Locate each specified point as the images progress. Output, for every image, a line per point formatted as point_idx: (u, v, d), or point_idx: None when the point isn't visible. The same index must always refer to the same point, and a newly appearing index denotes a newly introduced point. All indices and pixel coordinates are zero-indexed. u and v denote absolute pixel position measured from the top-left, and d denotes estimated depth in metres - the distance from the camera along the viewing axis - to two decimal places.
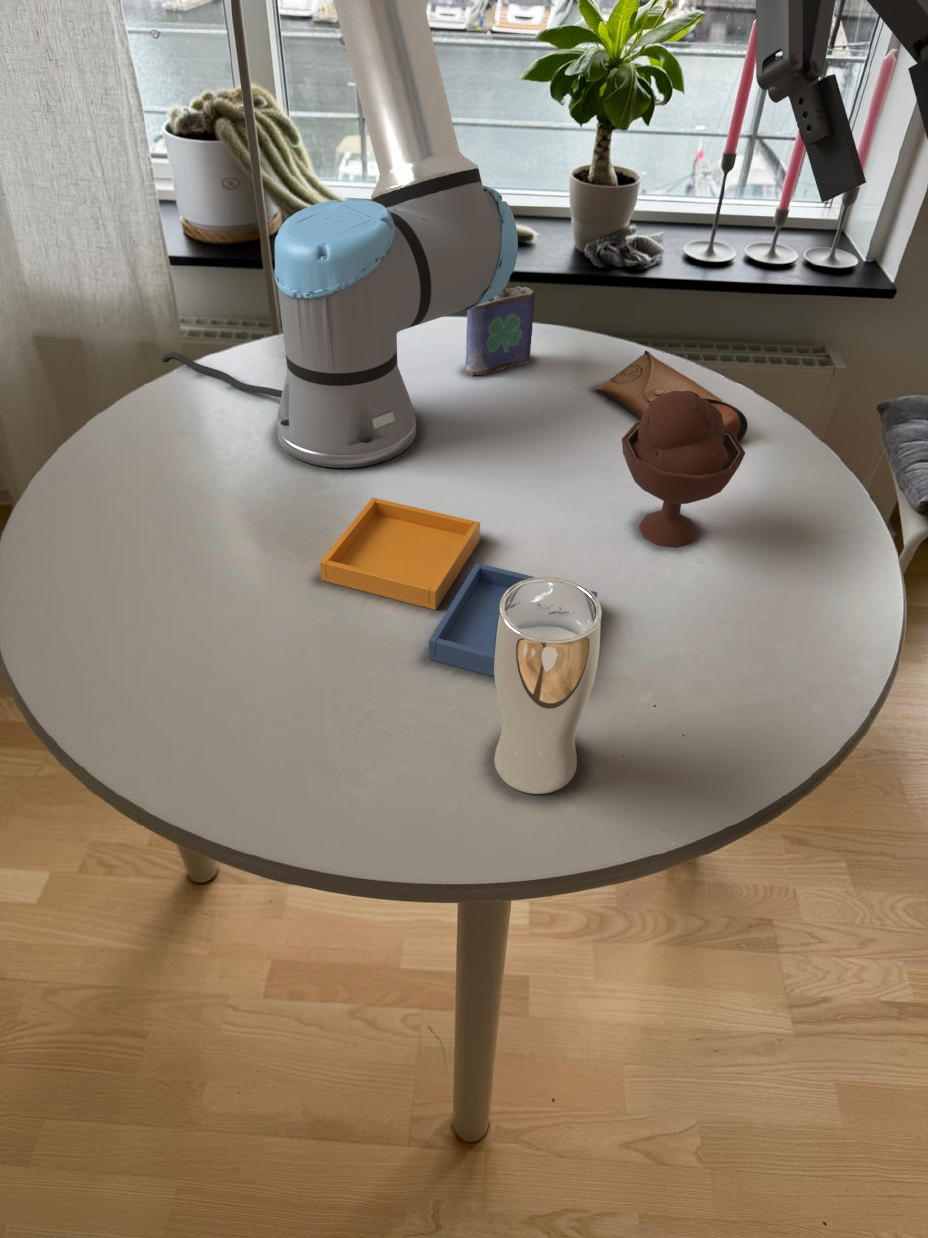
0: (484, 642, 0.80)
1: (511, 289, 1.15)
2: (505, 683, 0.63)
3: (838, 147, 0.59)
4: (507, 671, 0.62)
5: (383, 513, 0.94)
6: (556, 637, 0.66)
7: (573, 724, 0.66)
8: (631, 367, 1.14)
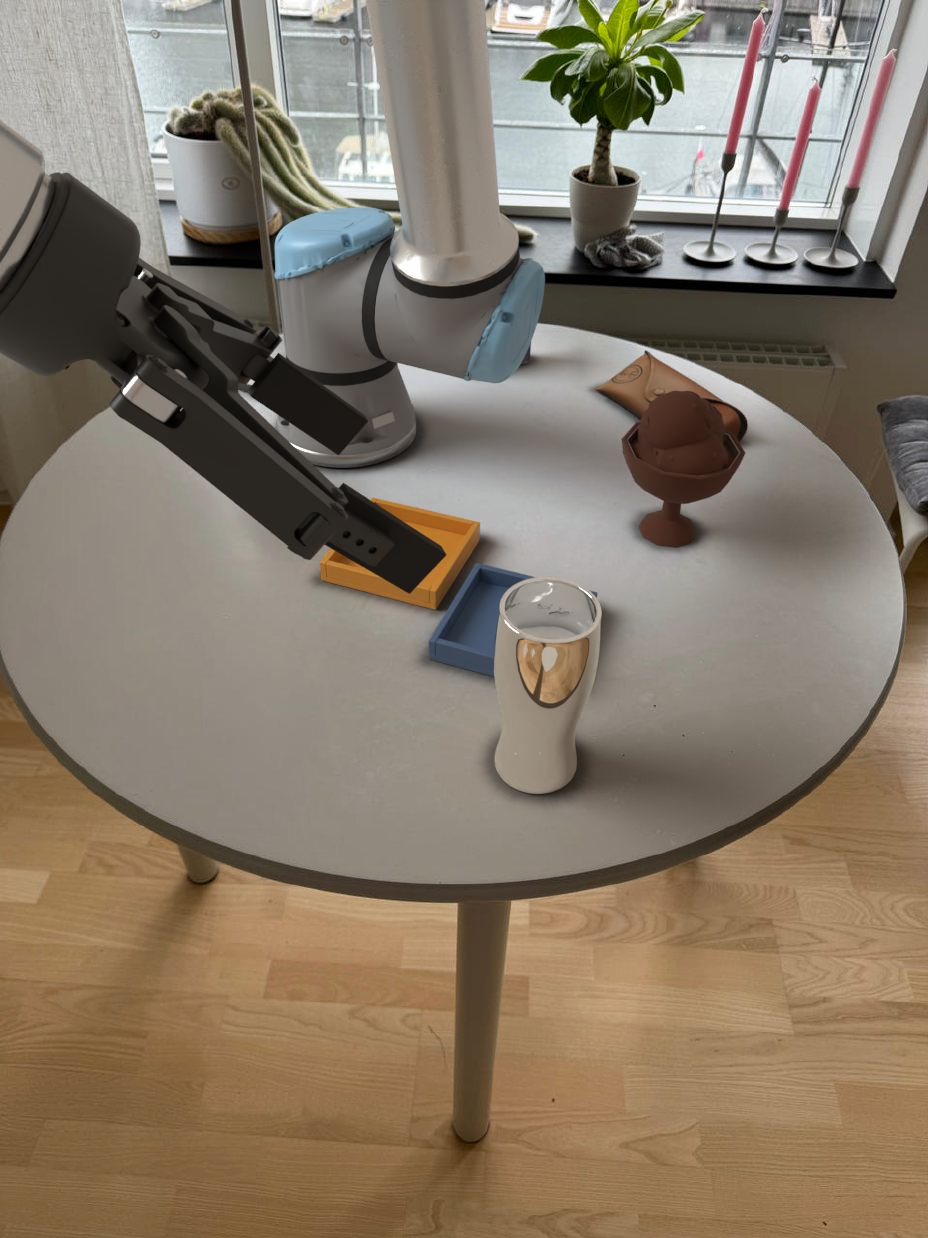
0: (484, 642, 0.80)
1: None
2: (505, 683, 0.63)
3: None
4: (507, 671, 0.62)
5: None
6: (556, 637, 0.66)
7: (573, 724, 0.66)
8: (631, 367, 1.14)
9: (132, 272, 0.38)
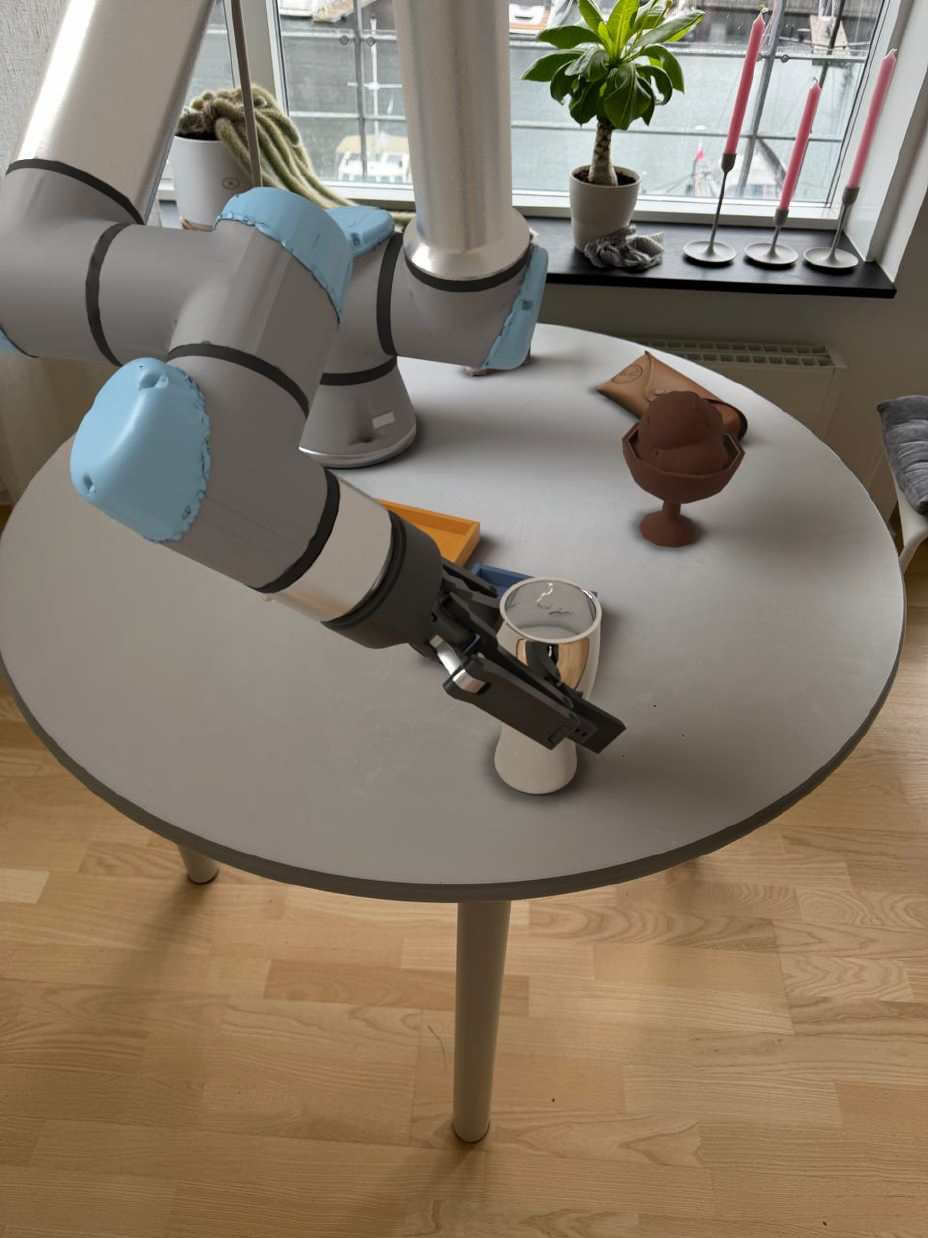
0: None
1: None
2: None
3: None
4: None
5: None
6: (556, 637, 0.66)
7: None
8: (631, 367, 1.14)
9: (440, 583, 0.54)
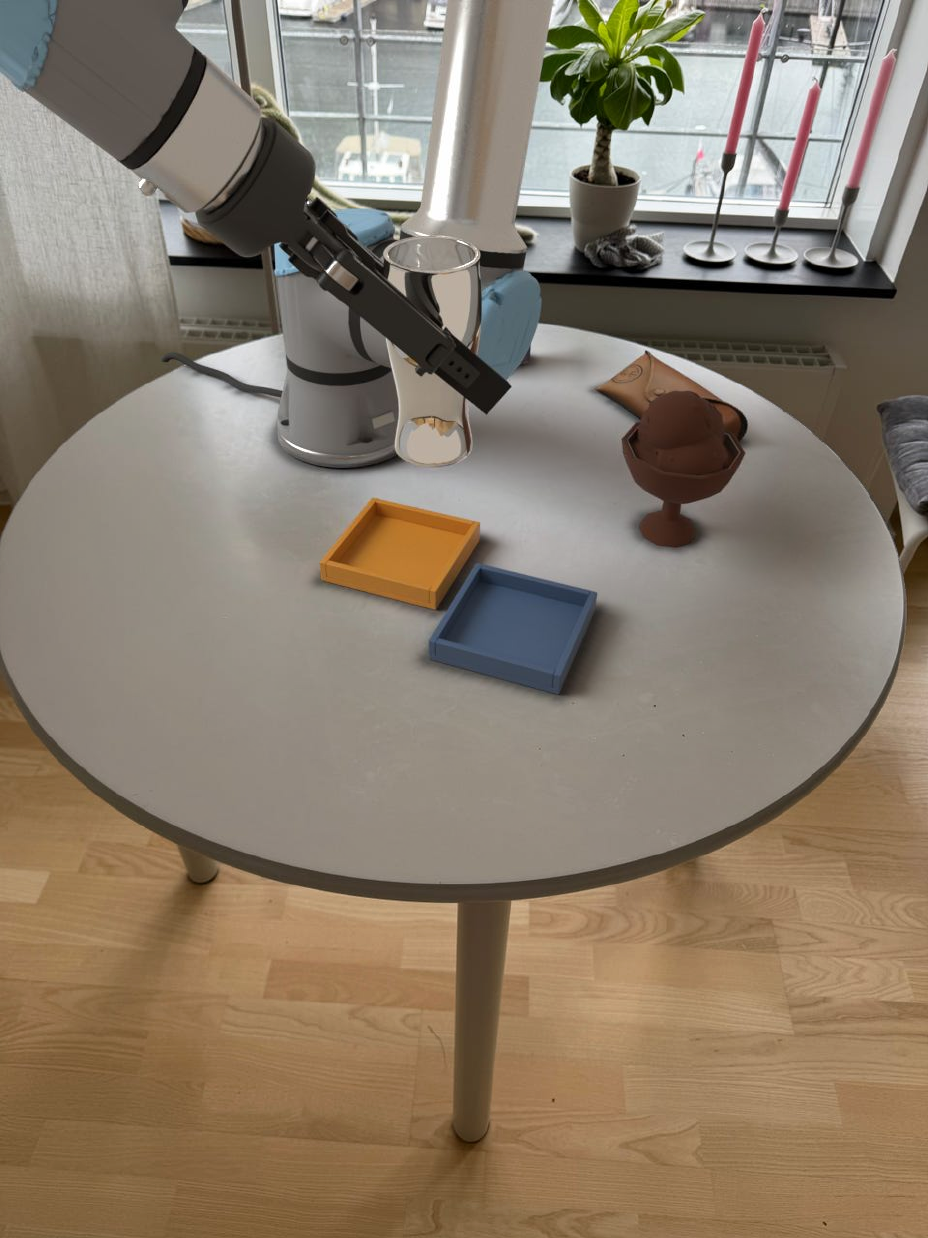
0: (484, 642, 0.80)
1: None
2: None
3: None
4: None
5: (383, 513, 0.94)
6: None
7: None
8: (632, 367, 1.14)
9: (313, 183, 0.57)
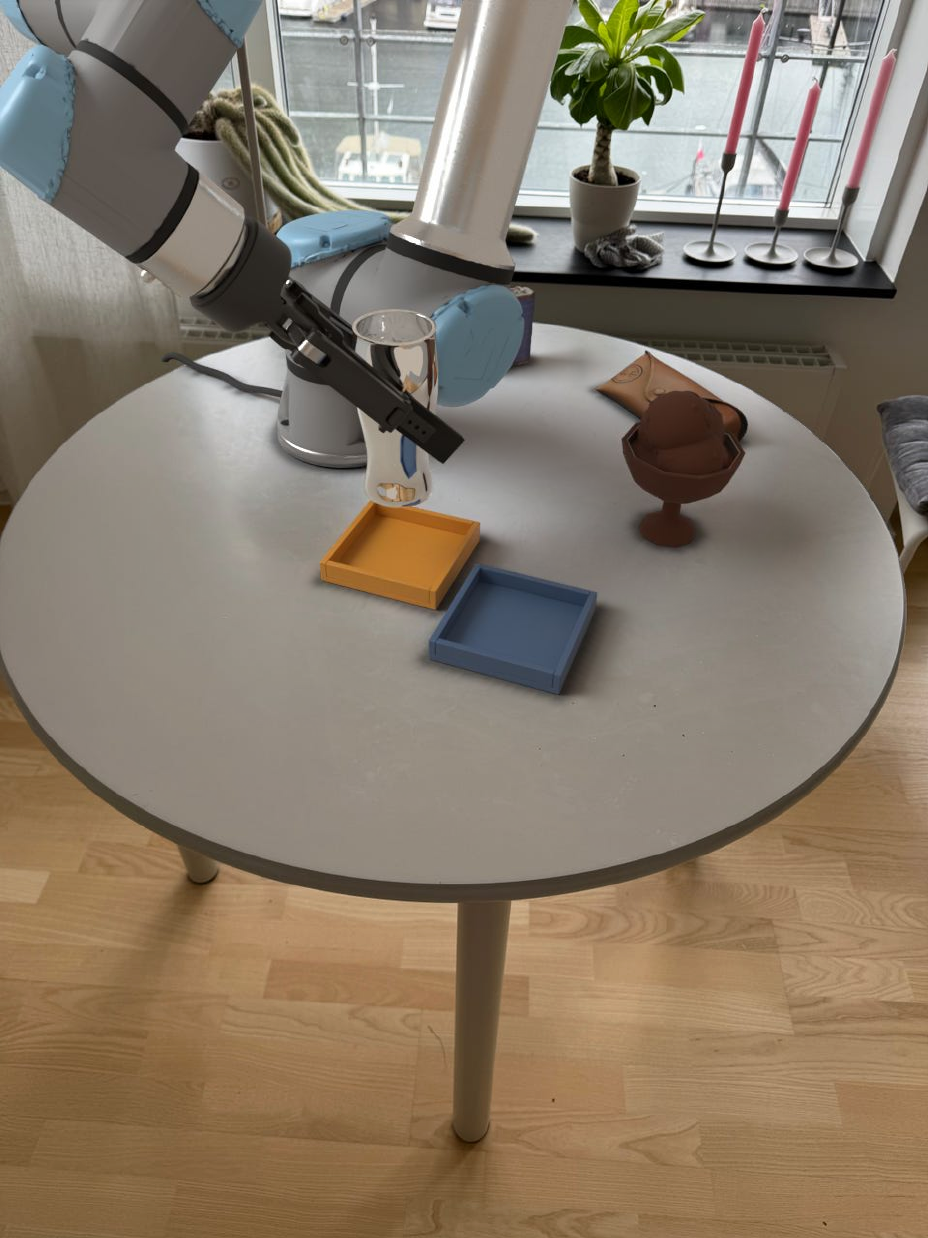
0: (484, 642, 0.80)
1: (511, 289, 1.15)
2: None
3: None
4: None
5: (383, 513, 0.94)
6: None
7: None
8: (632, 367, 1.14)
9: (289, 273, 0.67)
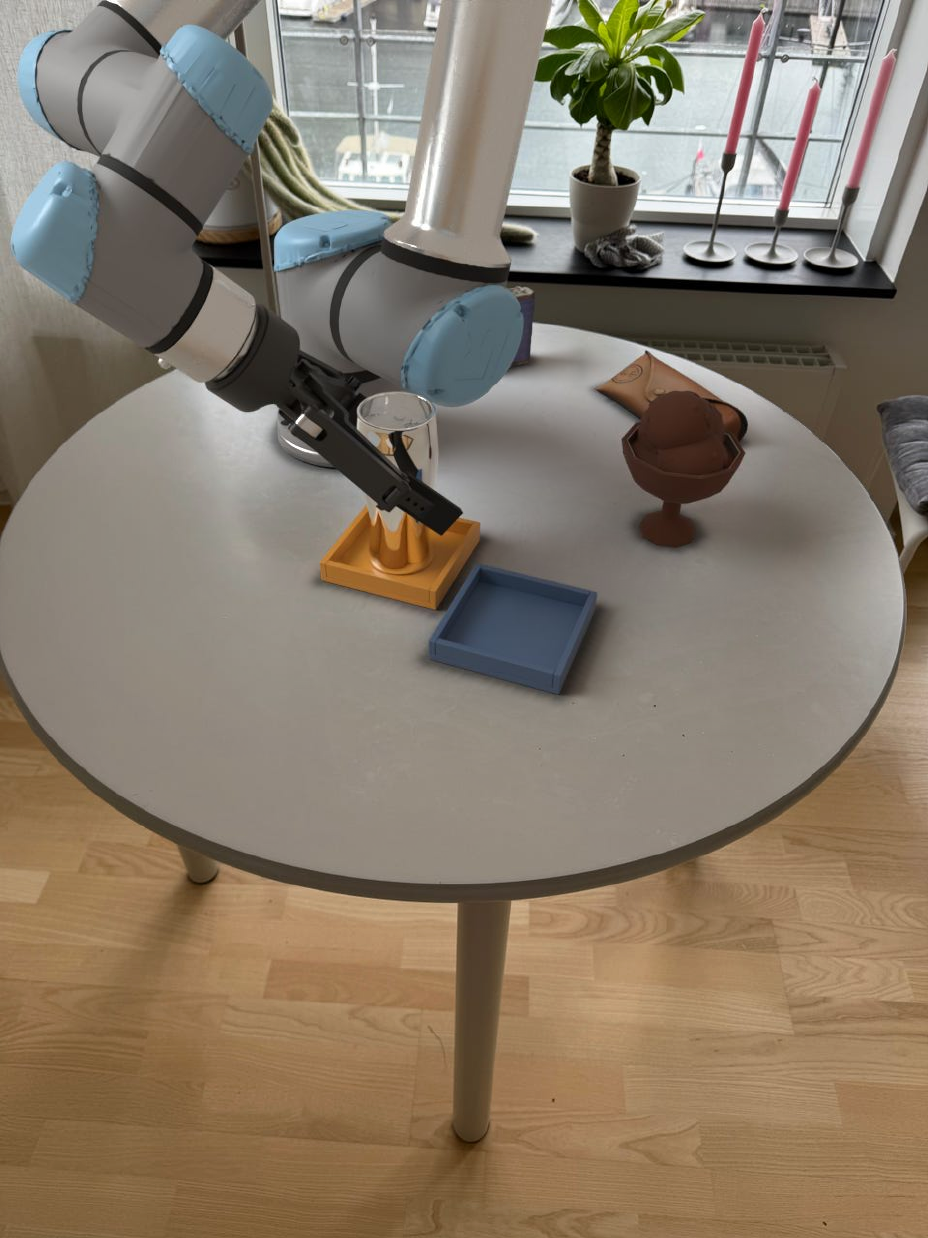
0: (484, 642, 0.80)
1: (511, 289, 1.15)
2: None
3: None
4: None
5: None
6: None
7: None
8: (632, 367, 1.14)
9: (297, 358, 0.71)
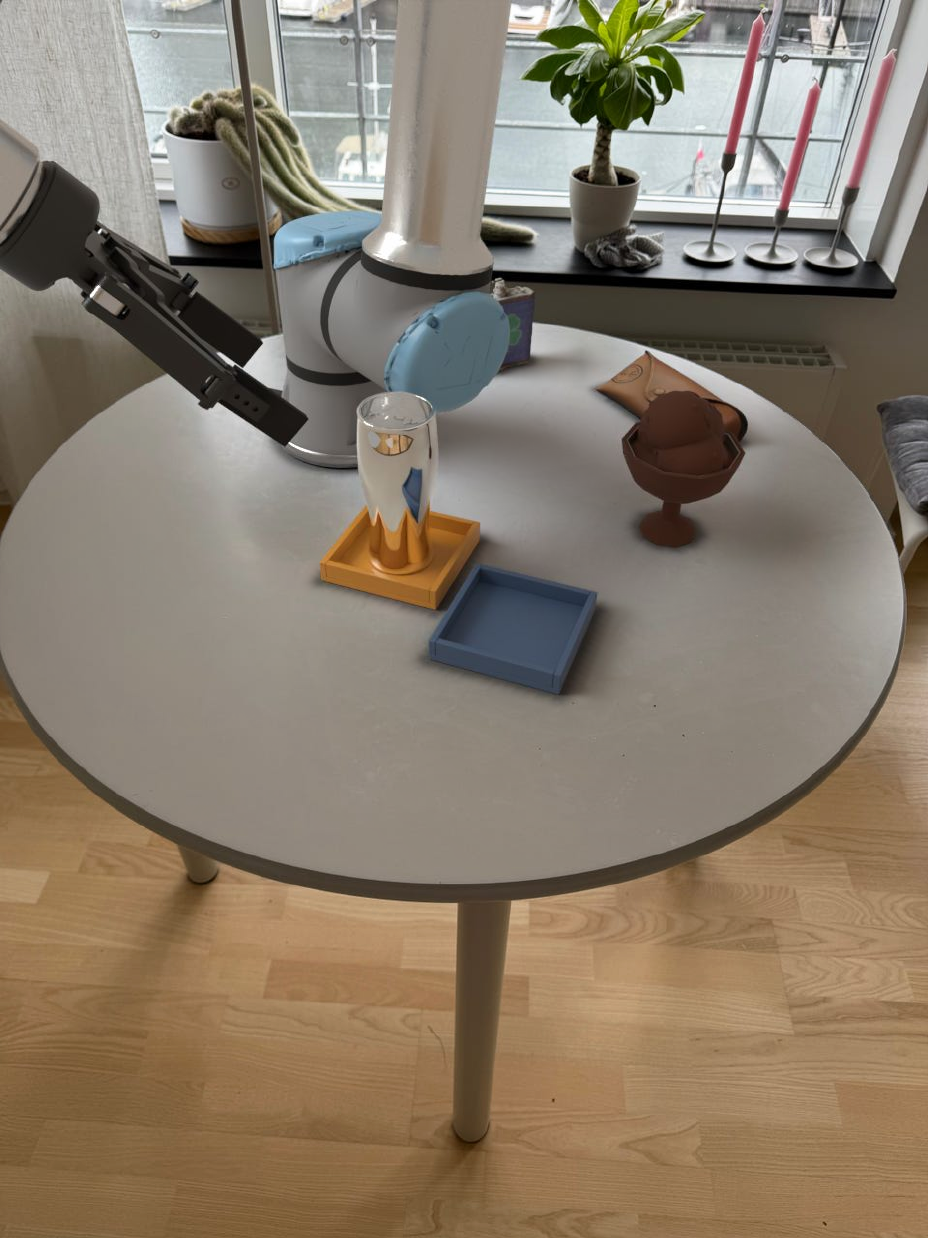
0: (484, 642, 0.80)
1: (511, 289, 1.15)
2: (364, 472, 0.81)
3: None
4: (364, 460, 0.80)
5: None
6: None
7: (421, 510, 0.84)
8: (632, 367, 1.14)
9: (94, 223, 0.60)
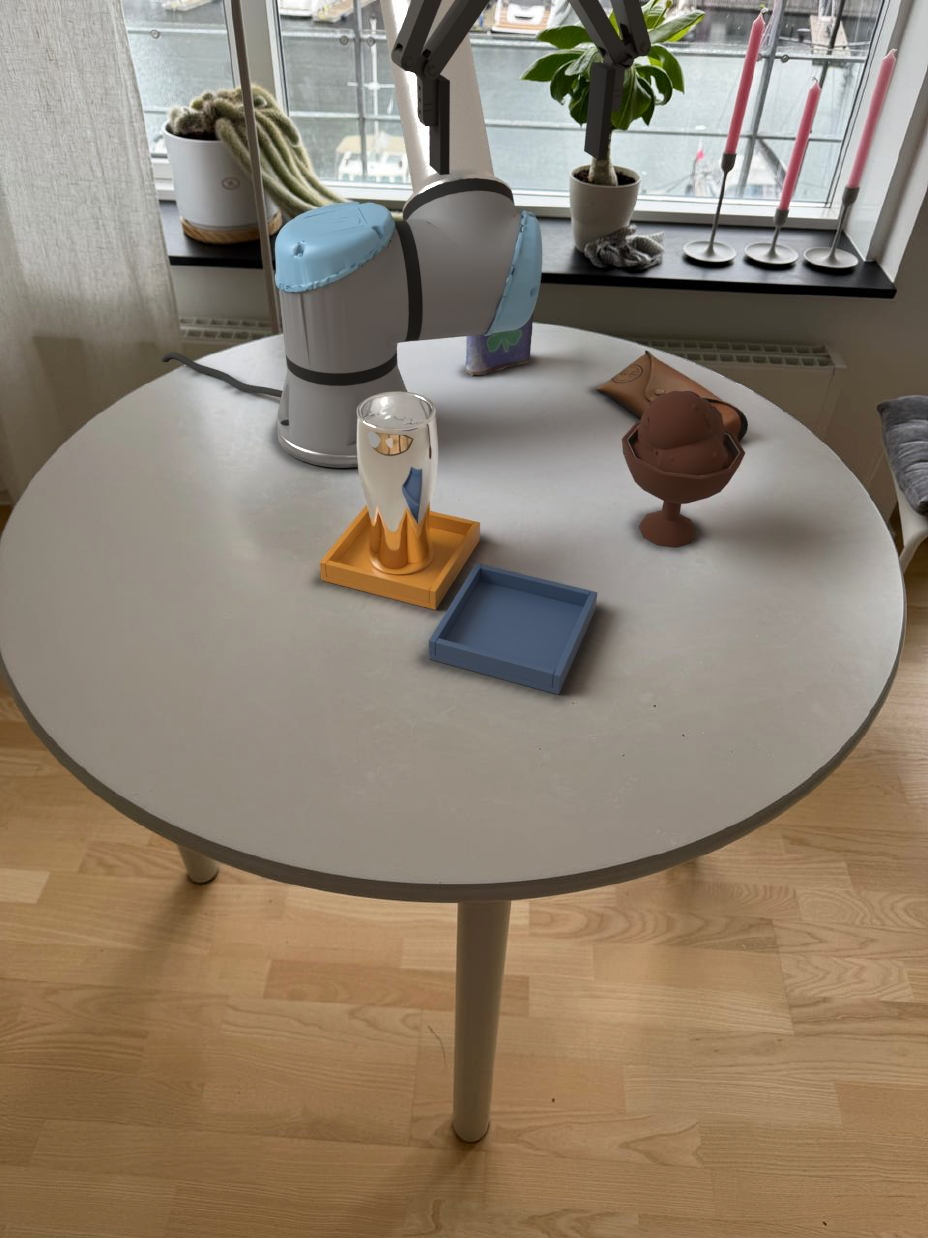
0: (484, 642, 0.80)
1: None
2: (364, 472, 0.81)
3: (437, 137, 0.74)
4: (364, 460, 0.80)
5: None
6: None
7: (421, 510, 0.84)
8: (632, 367, 1.14)
9: None
